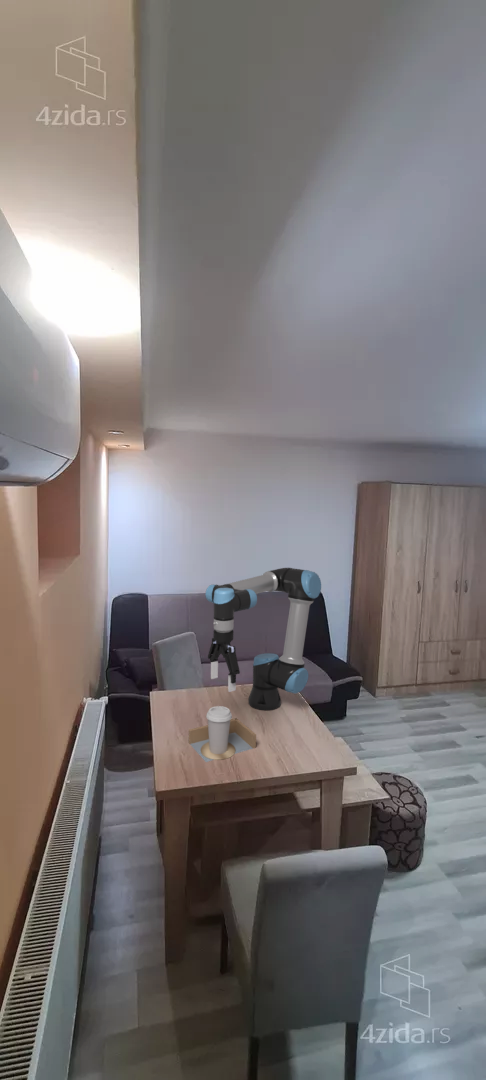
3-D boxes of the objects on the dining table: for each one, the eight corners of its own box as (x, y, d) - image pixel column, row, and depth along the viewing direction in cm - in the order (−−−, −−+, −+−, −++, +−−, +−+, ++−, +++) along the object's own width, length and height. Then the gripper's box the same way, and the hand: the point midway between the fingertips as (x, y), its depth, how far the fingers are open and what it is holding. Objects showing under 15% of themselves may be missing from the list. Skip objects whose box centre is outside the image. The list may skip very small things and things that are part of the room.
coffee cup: (233, 744, 176) (234, 706, 175) (227, 758, 167) (228, 718, 166) (209, 741, 178) (210, 703, 177) (202, 754, 169) (203, 714, 168)
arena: (235, 732, 188) (236, 718, 188) (255, 749, 175) (256, 734, 175) (188, 744, 177) (188, 729, 177) (205, 764, 165) (206, 748, 164)
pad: (225, 738, 181) (225, 737, 181) (241, 754, 170) (241, 753, 170) (194, 746, 175) (194, 745, 175) (210, 763, 164) (210, 762, 164)
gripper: (199, 622, 182) (199, 675, 184) (231, 640, 161) (230, 698, 163) (216, 620, 186) (215, 671, 188) (249, 637, 165) (248, 694, 167)
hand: (222, 684), depth 175 cm, fingers open, 13 cm apart
